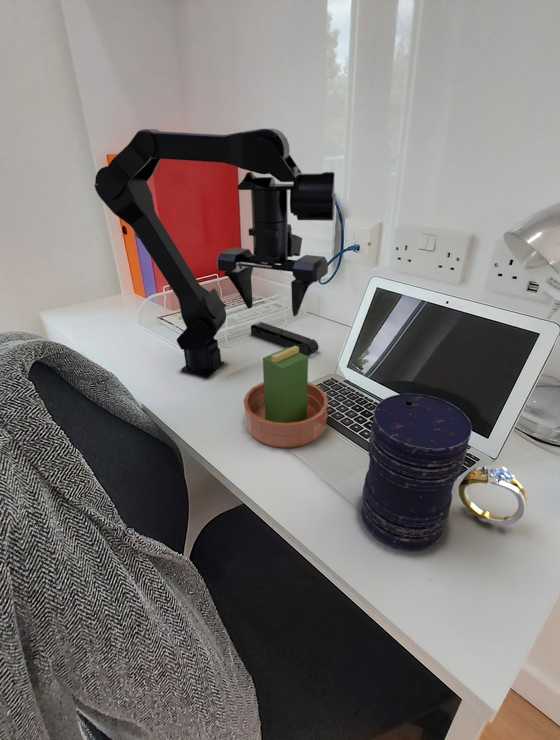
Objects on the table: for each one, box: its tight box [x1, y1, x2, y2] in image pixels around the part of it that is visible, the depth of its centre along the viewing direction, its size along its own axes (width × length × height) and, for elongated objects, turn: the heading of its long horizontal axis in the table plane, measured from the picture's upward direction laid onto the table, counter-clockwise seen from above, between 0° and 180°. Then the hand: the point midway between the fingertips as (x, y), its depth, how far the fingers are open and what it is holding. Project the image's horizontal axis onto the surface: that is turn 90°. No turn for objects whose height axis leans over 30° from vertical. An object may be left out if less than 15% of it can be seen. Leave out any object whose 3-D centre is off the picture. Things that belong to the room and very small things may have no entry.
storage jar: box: [360, 393, 473, 552], centre depth 46 cm, size 10×10×15 cm
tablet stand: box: [250, 321, 320, 357], centre depth 92 cm, size 18×3×3 cm, turn 48°
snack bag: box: [262, 346, 309, 423], centre depth 64 cm, size 4×5×12 cm
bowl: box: [243, 381, 329, 449], centre depth 66 cm, size 13×13×4 cm
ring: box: [457, 464, 528, 526], centre depth 48 cm, size 7×3×8 cm, turn 47°
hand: (272, 311), depth 74 cm, fingers open, 9 cm apart
